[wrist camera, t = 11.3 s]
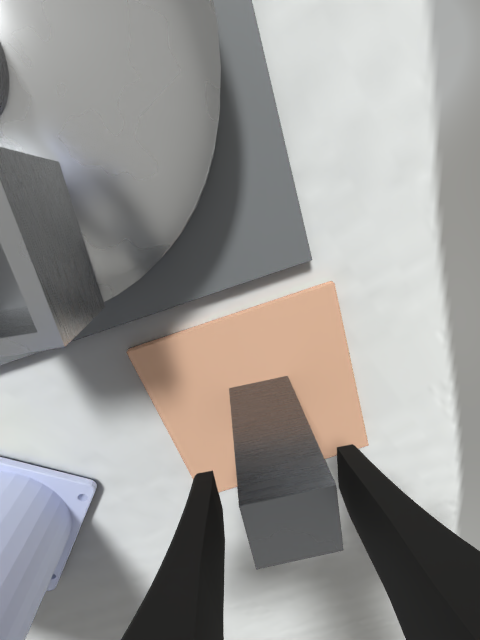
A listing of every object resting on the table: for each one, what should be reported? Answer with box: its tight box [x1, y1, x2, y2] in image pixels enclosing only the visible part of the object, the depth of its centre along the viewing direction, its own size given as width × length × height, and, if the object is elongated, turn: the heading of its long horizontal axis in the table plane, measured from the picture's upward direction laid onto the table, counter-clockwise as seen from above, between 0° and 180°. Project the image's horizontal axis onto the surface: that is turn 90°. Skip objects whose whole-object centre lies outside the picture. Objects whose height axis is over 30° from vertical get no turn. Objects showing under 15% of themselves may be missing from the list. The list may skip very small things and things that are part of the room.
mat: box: [127, 281, 368, 492], centre depth 16 cm, size 10×10×1 cm
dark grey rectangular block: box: [229, 376, 343, 569], centre depth 13 cm, size 3×3×6 cm
